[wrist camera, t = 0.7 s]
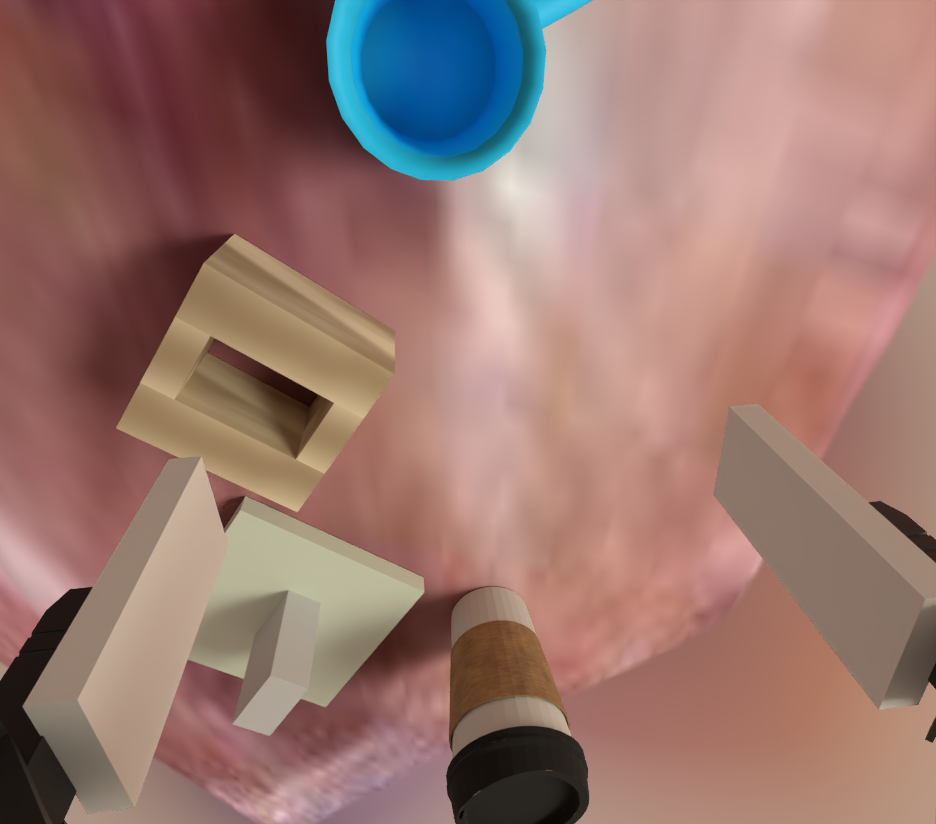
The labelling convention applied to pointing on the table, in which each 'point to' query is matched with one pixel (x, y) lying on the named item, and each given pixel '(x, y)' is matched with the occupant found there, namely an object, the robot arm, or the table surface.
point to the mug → (439, 78)
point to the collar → (250, 400)
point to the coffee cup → (508, 721)
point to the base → (311, 574)
